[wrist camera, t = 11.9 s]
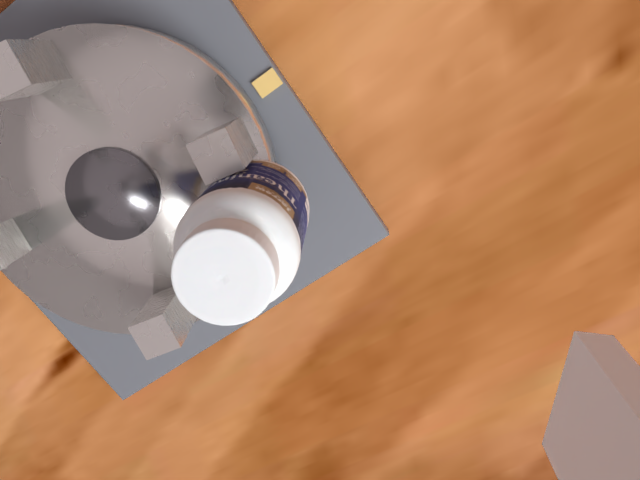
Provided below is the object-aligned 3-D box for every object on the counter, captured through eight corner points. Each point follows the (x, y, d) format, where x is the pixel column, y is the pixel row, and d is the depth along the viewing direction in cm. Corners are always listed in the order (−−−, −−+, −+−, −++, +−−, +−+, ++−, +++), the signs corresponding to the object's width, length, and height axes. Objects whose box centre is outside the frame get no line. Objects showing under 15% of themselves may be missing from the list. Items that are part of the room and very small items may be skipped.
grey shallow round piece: (-74, 102, 32) (-175, 116, 26) (194, -32, 29) (153, -52, 23) (82, 351, 37) (29, 413, 31) (325, 257, 34) (320, 305, 28)
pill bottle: (317, 165, 30) (304, 222, 20) (302, 261, 31) (284, 352, 22) (214, 149, 29) (154, 198, 20) (205, 245, 31) (146, 330, 22)
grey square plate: (154, -112, 29) (147, -119, 28) (388, 229, 34) (389, 235, 33) (-114, 123, 34) (-131, 126, 33) (128, 391, 39) (122, 402, 38)
